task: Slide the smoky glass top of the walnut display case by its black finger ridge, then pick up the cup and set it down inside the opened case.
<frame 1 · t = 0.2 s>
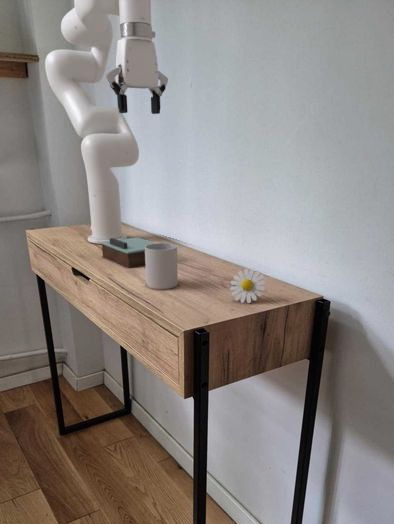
hand: (139, 113, 124), 37 cm above the table, tool pointing down, fingers open, 9 cm apart
decorative flower: (237, 295, 105), on the table
case: (133, 259, 134), on the table
cup: (160, 284, 113), on the table
glass top: (132, 242, 132), point 5 cm above the table, slide at 0.0 cm
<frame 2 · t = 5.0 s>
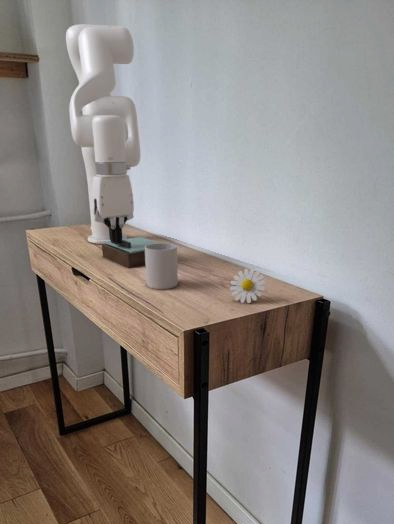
hand: (116, 243, 129), 5 cm above the table, tool pointing down, fingers closed
glass top: (136, 241, 133), point 5 cm above the table, slide at 1.1 cm, touching gripper
everything else where it was.
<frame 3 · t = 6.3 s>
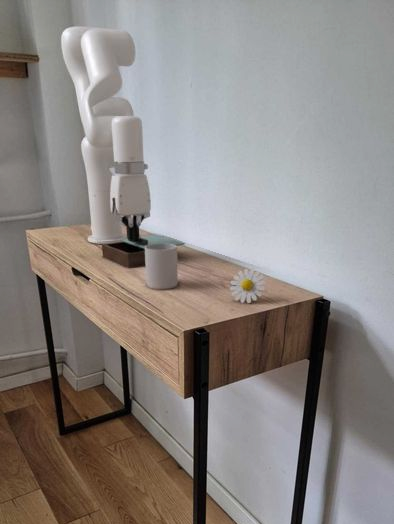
hand: (133, 240, 132), 5 cm above the table, tool pointing down, fingers closed
glass top: (152, 239, 135), point 5 cm above the table, slide at 6.4 cm, touching gripper
everything else where it was.
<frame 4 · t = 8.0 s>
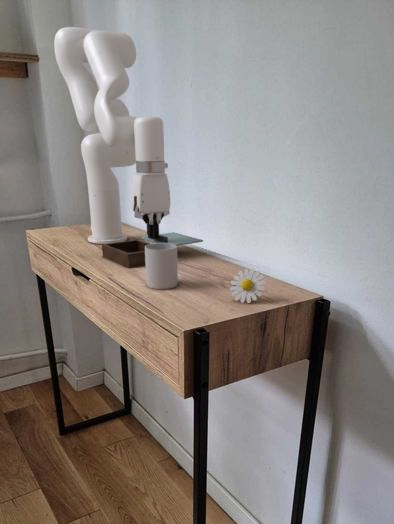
hand: (153, 238, 135), 5 cm above the table, tool pointing down, fingers closed
glass top: (171, 236, 139), point 5 cm above the table, slide at 12.8 cm, touching gripper
everything else where it was.
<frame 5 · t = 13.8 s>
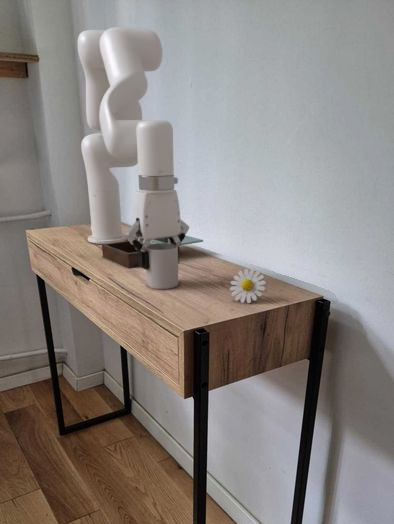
hand: (159, 265, 111), 4 cm above the table, tool pointing down, fingers closed on cup, 7 cm apart
cup: (160, 284, 113), on the table, touching gripper
glass top: (171, 236, 139), point 5 cm above the table, slide at 12.9 cm
everything else where it was.
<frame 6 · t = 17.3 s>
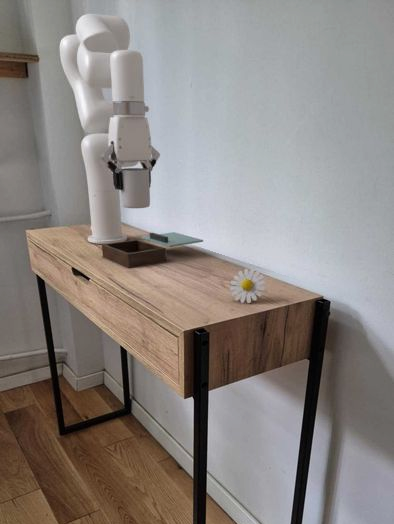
hand: (132, 187, 123), 19 cm above the table, tool pointing down, fingers closed on cup, 7 cm apart
cup: (134, 206, 125), point 15 cm above the table, touching gripper
everything else where it was.
when the fingers open (5 cm above the table, at t = 21.3 s): cup stays where it is, resting on case.
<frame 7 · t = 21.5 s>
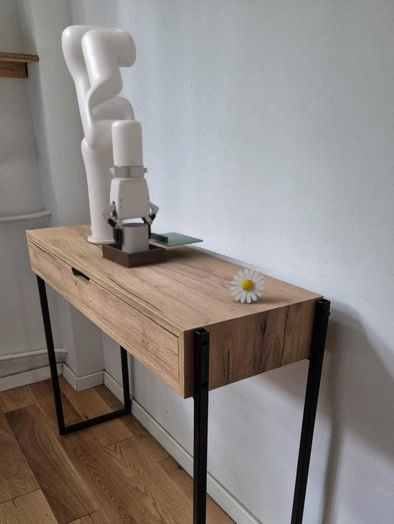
hand: (132, 240, 132), 5 cm above the table, tool pointing down, fingers open, 8 cm apart
cup: (134, 257, 134), resting on case
everything else where it was.
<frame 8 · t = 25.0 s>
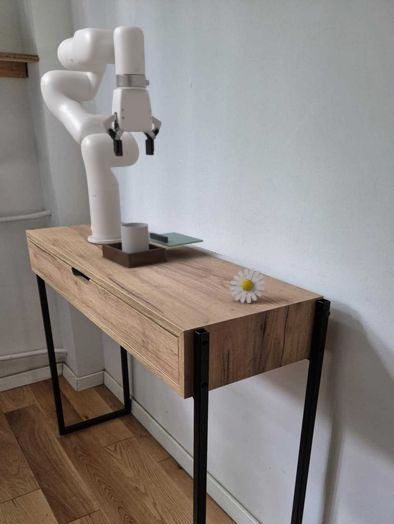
hand: (134, 155, 131), 26 cm above the table, tool pointing down, fingers open, 9 cm apart
nothing on the table moved.
at the end: glass top slide at 12.9 cm; cup inside the target area on the case (0.3 cm from its centre), point 0.4 cm above the case's base; cup tilted 0° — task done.
